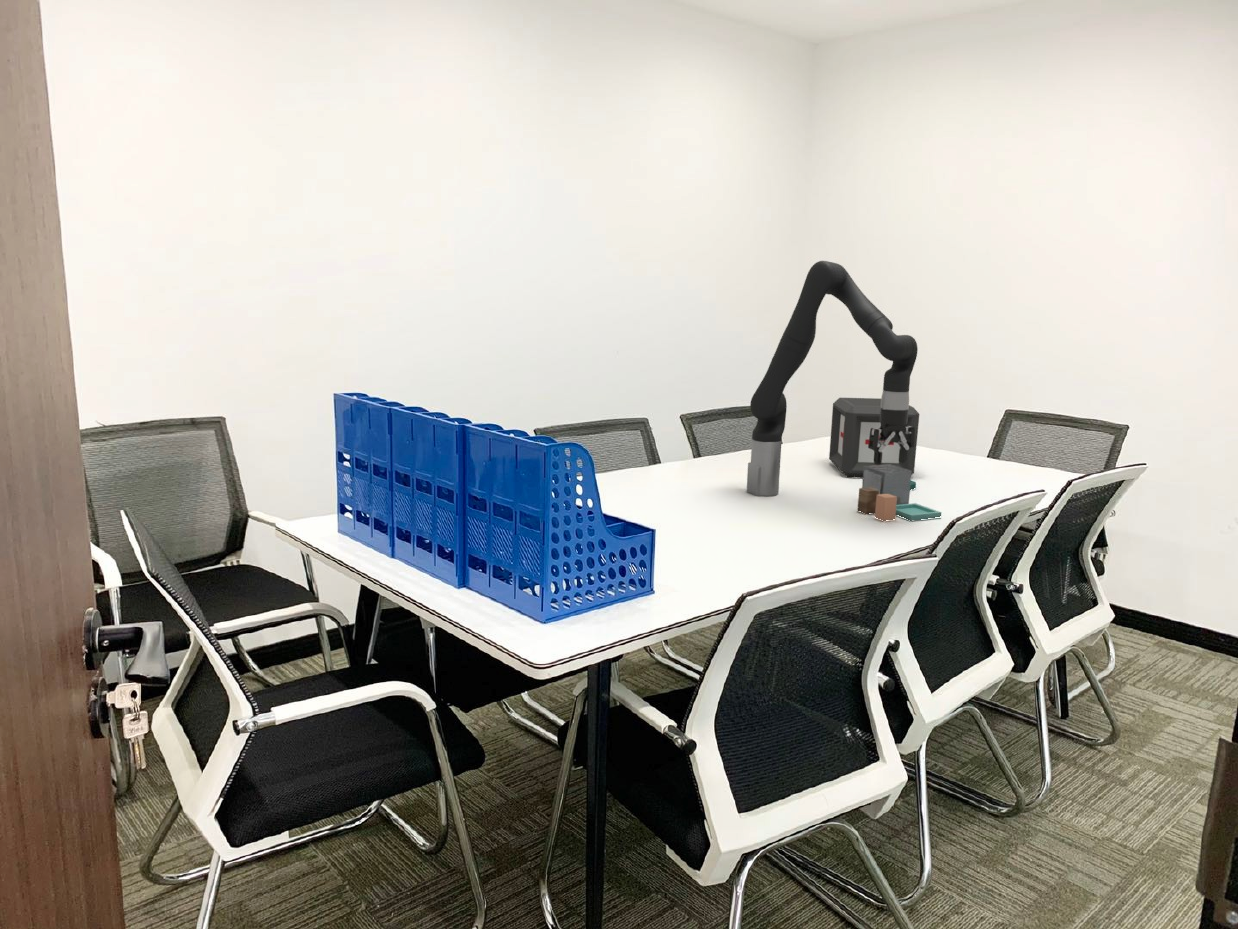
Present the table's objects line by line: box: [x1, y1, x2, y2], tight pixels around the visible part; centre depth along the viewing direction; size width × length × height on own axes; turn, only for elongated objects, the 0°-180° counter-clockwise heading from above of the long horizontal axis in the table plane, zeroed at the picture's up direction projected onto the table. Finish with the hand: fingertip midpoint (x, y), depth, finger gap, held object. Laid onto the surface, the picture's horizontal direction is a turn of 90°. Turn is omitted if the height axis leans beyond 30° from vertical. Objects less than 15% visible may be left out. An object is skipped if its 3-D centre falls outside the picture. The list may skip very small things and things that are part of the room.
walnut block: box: [857, 487, 879, 515], centre depth 267 cm, size 4×4×7 cm
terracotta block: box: [874, 494, 897, 522], centre depth 260 cm, size 4×4×7 cm
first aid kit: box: [828, 397, 920, 478], centre depth 321 cm, size 25×25×25 cm
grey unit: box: [861, 464, 912, 505], centre depth 277 cm, size 11×10×11 cm
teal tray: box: [896, 502, 942, 522], centre depth 265 cm, size 11×11×2 cm
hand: (889, 463), depth 257 cm, fingers open, 8 cm apart
